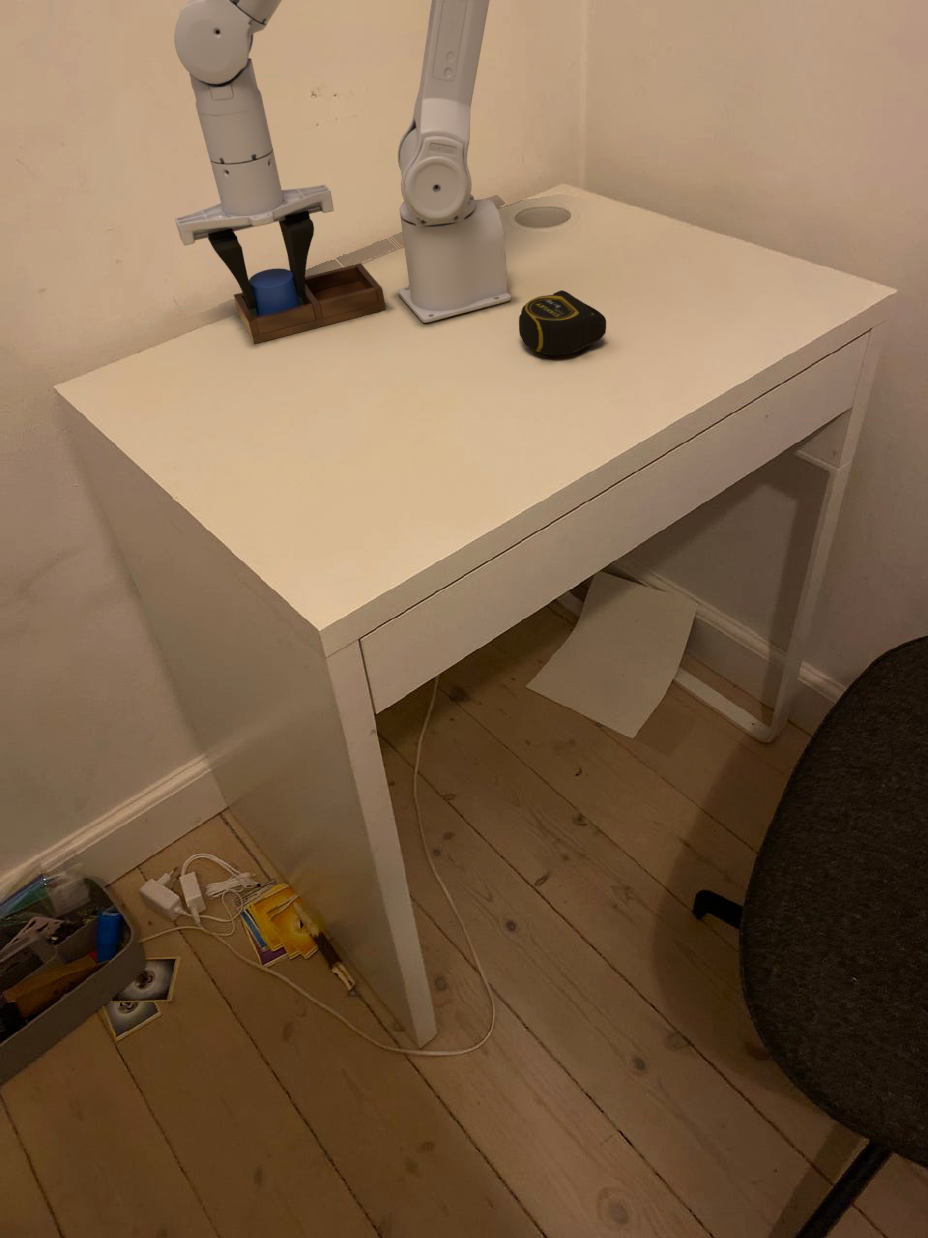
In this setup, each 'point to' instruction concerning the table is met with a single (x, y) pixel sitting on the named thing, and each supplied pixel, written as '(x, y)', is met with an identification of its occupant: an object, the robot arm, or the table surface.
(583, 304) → the tape measure
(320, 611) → the table surface
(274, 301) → the cylinder
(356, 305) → the holder
